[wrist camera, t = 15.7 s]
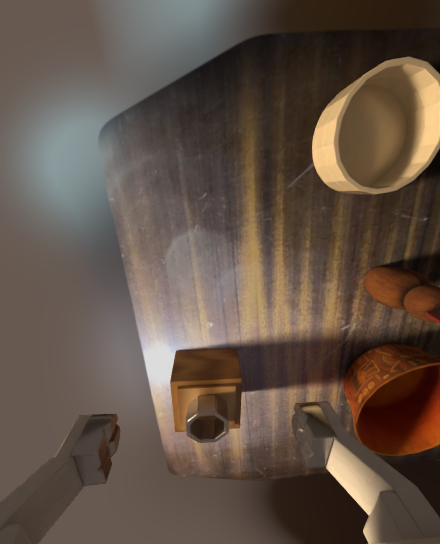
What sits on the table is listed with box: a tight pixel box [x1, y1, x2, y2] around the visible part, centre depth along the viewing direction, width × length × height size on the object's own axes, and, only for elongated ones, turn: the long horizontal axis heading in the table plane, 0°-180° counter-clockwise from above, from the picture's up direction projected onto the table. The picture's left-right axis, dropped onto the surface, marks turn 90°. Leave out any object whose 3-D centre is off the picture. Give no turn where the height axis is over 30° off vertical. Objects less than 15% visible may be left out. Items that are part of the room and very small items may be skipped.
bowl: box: [344, 343, 440, 456], centre depth 40 cm, size 21×21×10 cm
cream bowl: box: [312, 57, 440, 194], centre depth 28 cm, size 13×13×6 cm
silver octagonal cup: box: [186, 395, 229, 443], centre depth 34 cm, size 6×6×3 cm
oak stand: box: [170, 348, 242, 432], centre depth 39 cm, size 11×11×7 cm
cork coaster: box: [177, 384, 236, 431], centre depth 35 cm, size 9×9×1 cm
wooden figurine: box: [364, 265, 440, 324], centre depth 30 cm, size 7×6×15 cm
